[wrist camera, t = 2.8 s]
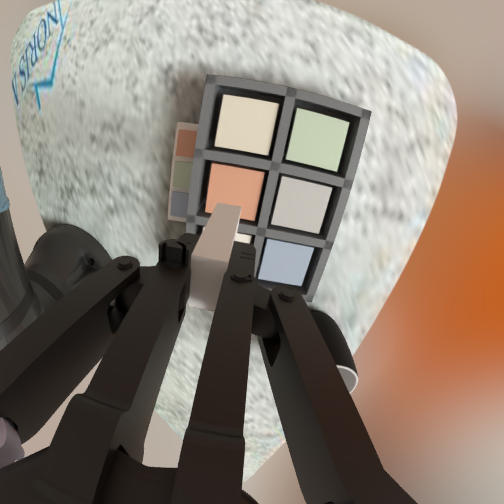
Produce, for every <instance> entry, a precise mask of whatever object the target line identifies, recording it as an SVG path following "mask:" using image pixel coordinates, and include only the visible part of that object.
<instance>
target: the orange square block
mask: <svg viewBox="0 0 504 504" xmlns="http://www.w3.org/2000/svg"><path fill="white" fill-rule="evenodd" d="M264 173H265V169H260V168H255V167H249V166H244V165H238V164H232V163H226V162H220V161H214V162H213V163H212V166H211V173H210V180H209V187H208V194H207V201H206V209H205V212H208V213H213V211H214V209H215V207H216V205H217V203H223V204H229V205H234V206H240V207H242V208H241V214H240V218H241V219H247V220H252V221H255V217H256V212H257V207H258V202H259V197H260V192H261V188H262V183H263V178H264Z"/></svg>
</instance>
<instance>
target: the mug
mask: <svg viewBox="0 0 504 504" xmlns="http://www.w3.org/2000/svg"><path fill="white" fill-rule="evenodd" d="M310 312H311V314H312V316H313V318H314V320H315V322H316V325H317V327H318V329H319V331H320V333H321V335H322V337H323V339H324V341H325V343H326V345H327V347H328V349H329V351H330V353H331V355H332V357H333V359H334V361H335V364H336V366H337V368H338V370H339V372H340V374H341V376H342V378H343V380H344V382H345V385H346V387H347V389H348V391H349V393H351V392H352V391H353V390H354V389H355V387H356V385H357V383H358V374H357V370H356V367H355V363H354V360H353V357H352V355H351V352H350V349H349V347H348V345H347V342H346V340H345V338H344V336H343V334H342V332H341V330H340V328H339V327H338V325H337V324H336V322H335V321H334V320H333V319H332V318H331V317H330V316H328V315H327V314H325V313H322V312H318V311H310Z"/></svg>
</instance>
